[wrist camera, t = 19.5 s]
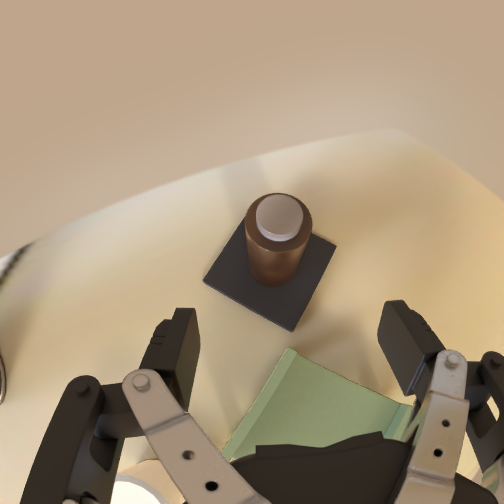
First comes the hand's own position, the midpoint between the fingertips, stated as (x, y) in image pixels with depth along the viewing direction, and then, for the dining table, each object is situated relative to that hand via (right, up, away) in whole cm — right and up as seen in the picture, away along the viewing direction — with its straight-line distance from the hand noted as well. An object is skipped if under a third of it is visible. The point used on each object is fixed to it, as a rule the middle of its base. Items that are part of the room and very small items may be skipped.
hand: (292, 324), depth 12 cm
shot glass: (-11, -20, +9) cm, 25 cm away
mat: (0, +2, +18) cm, 18 cm away
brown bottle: (0, +2, +17) cm, 17 cm away
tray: (+4, -13, +12) cm, 18 cm away
